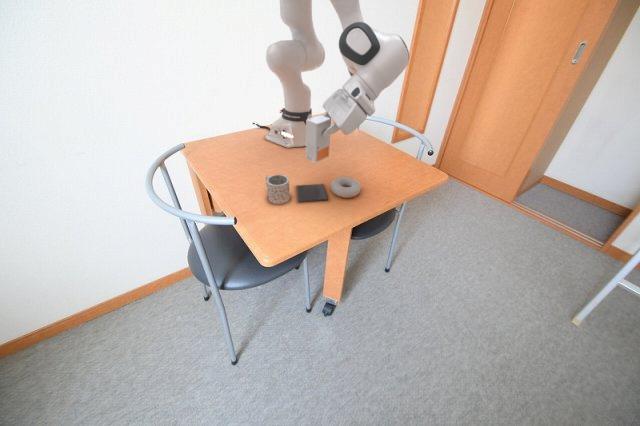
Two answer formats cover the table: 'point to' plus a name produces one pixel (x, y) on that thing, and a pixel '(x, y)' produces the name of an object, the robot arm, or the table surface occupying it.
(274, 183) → the mug
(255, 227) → the table surface
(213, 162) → the table surface
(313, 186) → the slate coaster
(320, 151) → the cosmetic box
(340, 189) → the donut
